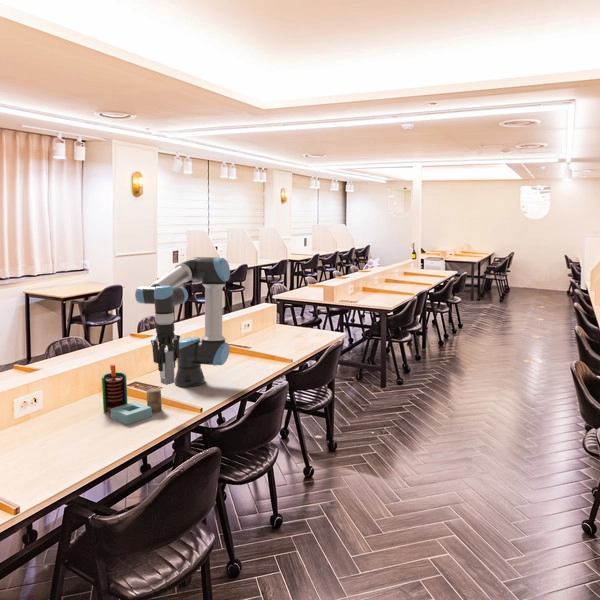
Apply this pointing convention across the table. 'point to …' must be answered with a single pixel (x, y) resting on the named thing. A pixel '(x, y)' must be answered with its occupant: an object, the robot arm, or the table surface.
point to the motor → (114, 389)
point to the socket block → (131, 412)
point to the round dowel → (154, 400)
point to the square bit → (168, 367)
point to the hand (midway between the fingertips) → (167, 376)
